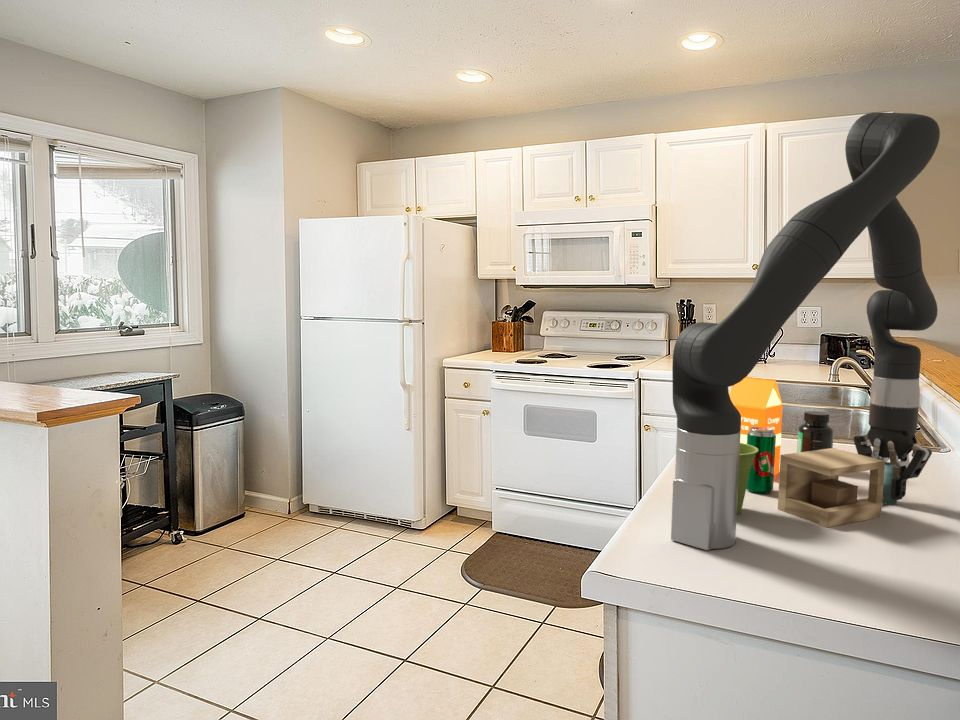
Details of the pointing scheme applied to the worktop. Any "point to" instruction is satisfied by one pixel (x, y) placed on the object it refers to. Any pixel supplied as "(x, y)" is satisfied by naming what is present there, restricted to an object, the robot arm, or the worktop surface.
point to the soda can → (762, 460)
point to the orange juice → (759, 408)
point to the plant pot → (744, 471)
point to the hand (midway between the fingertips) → (887, 495)
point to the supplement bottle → (815, 432)
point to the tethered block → (847, 491)
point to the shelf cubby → (822, 466)
